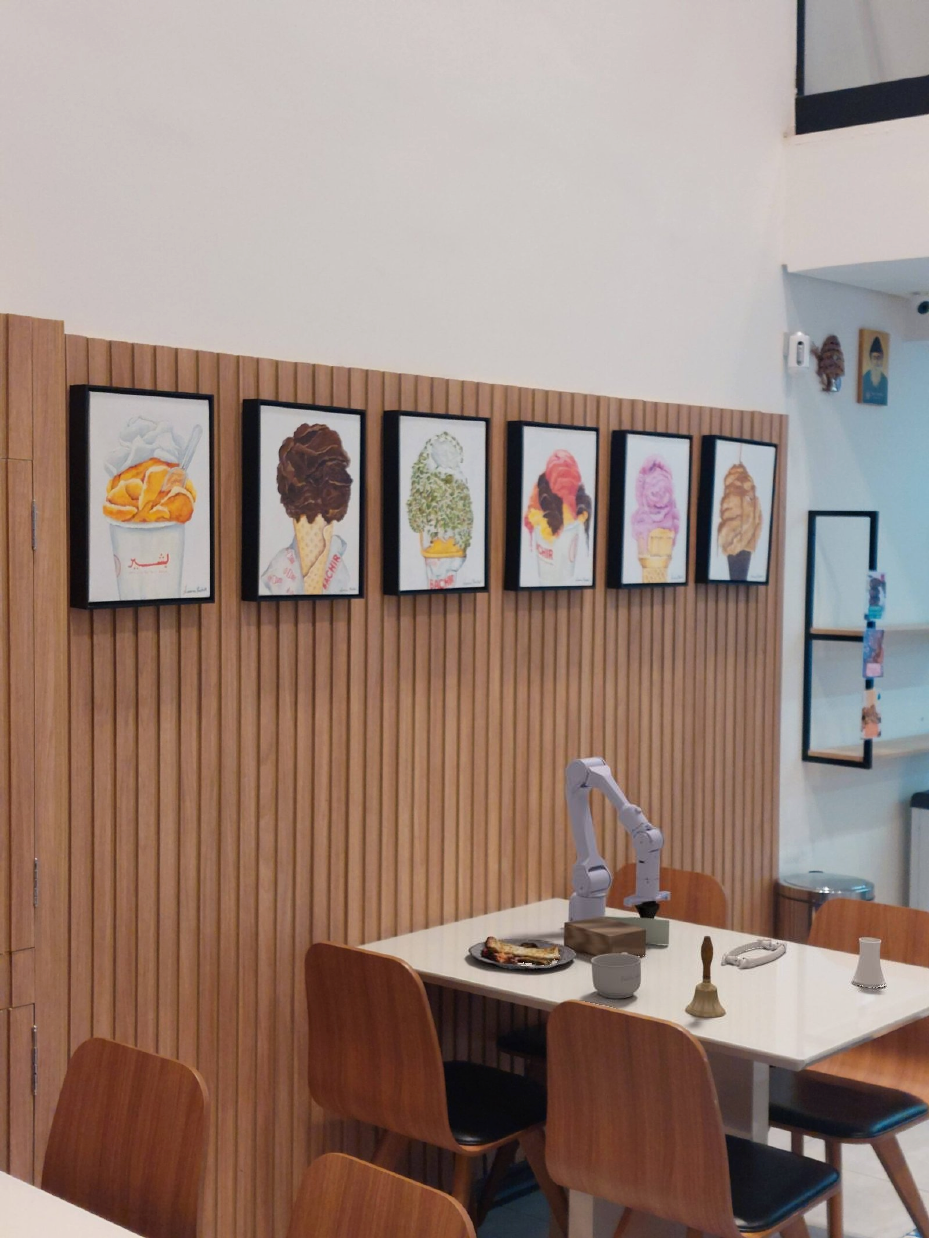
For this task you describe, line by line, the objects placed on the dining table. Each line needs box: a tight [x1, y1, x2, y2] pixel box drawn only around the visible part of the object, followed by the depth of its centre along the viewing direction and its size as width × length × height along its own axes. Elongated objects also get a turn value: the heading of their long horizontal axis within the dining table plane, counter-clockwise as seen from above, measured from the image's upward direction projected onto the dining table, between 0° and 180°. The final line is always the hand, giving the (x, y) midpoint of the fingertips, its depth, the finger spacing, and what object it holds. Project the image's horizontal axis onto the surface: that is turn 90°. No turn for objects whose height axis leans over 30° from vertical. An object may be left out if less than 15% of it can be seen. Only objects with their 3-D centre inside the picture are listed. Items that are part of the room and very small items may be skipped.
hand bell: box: [685, 935, 726, 1019], centre depth 300 cm, size 8×8×16 cm
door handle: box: [721, 937, 788, 970], centre depth 345 cm, size 3×10×25 cm
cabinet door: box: [604, 914, 670, 945], centre depth 356 cm, size 17×2×6 cm, turn 80°
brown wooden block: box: [563, 916, 647, 959], centre depth 346 cm, size 16×12×6 cm
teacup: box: [590, 952, 642, 999], centre depth 312 cm, size 14×11×8 cm
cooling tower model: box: [851, 936, 887, 989], centre depth 324 cm, size 8×8×10 cm
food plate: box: [468, 935, 577, 970], centre depth 338 cm, size 25×23×4 cm
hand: (646, 931), depth 357 cm, fingers closed
